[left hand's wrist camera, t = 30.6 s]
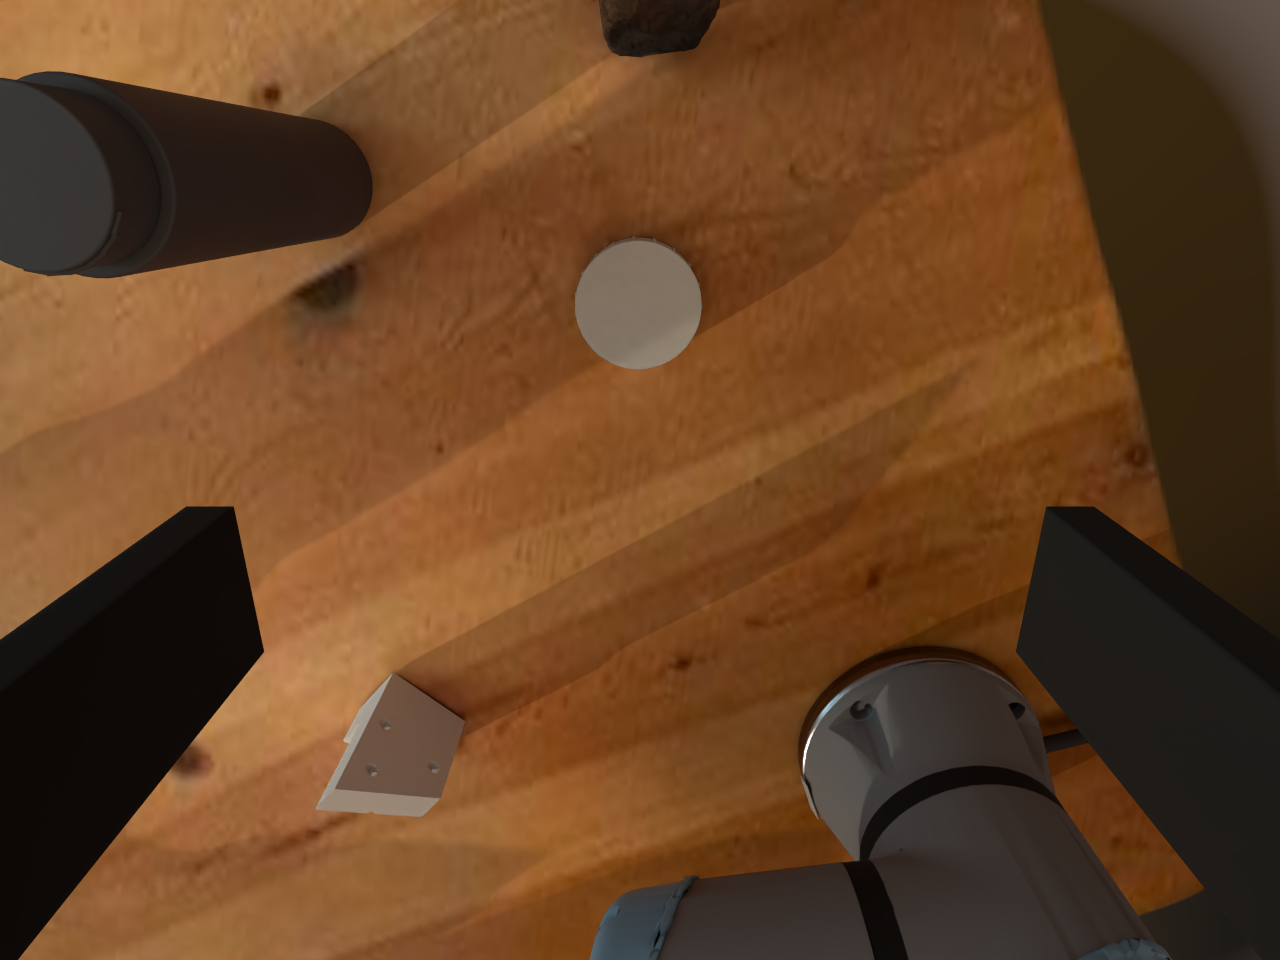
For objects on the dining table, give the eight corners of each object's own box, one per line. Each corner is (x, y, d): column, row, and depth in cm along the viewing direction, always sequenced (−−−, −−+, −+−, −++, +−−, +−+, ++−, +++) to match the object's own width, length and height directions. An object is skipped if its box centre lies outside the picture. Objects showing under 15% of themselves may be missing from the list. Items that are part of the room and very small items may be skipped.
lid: (711, 344, 41) (715, 354, 39) (595, 373, 42) (592, 383, 40) (685, 222, 39) (687, 224, 37) (562, 253, 40) (558, 258, 38)
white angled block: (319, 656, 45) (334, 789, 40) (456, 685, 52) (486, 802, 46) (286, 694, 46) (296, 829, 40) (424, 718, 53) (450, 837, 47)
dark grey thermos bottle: (246, 206, 39) (-106, 227, 20) (280, 97, 37) (-74, 14, 19) (351, 257, 40) (103, 323, 21) (388, 154, 38) (152, 128, 20)
